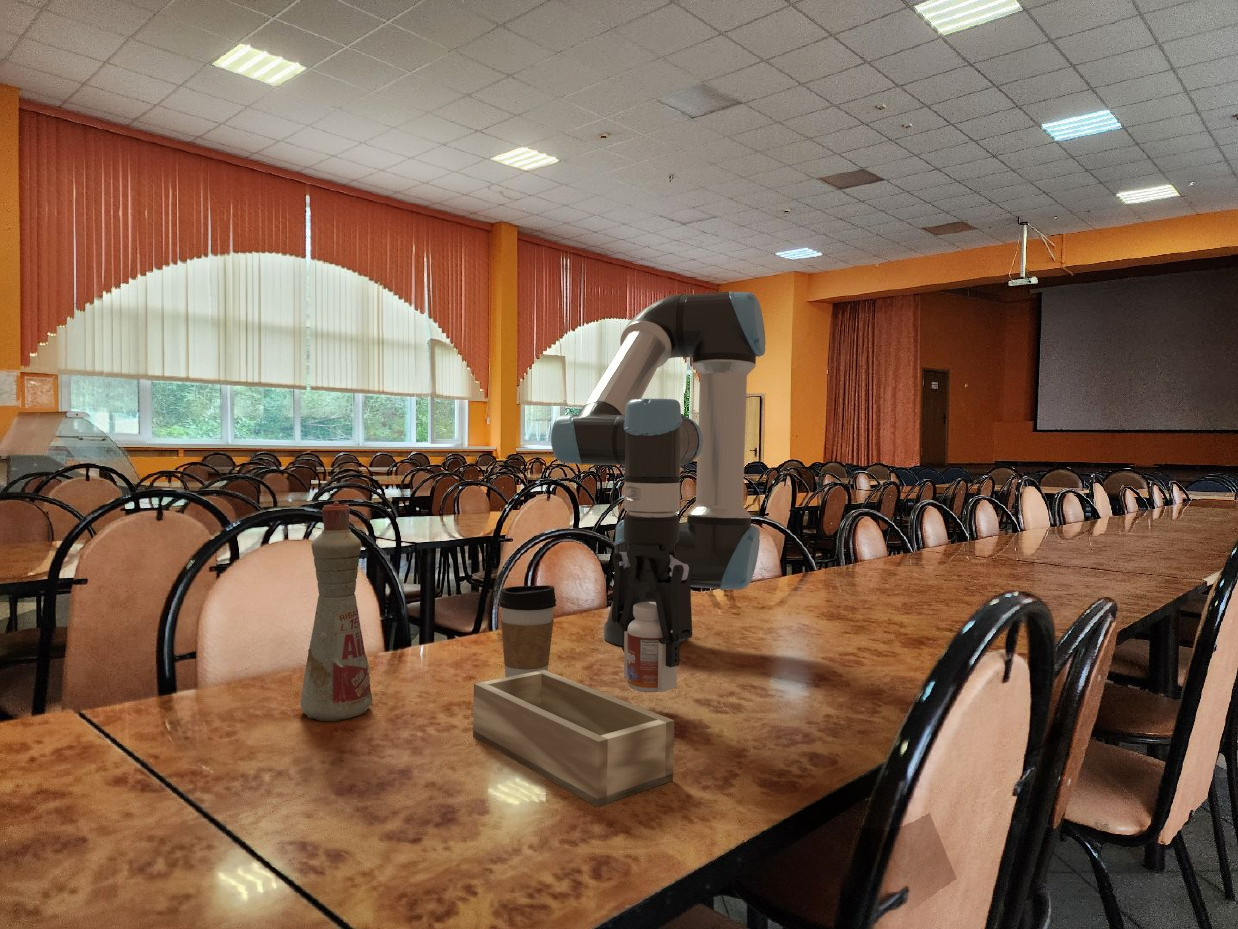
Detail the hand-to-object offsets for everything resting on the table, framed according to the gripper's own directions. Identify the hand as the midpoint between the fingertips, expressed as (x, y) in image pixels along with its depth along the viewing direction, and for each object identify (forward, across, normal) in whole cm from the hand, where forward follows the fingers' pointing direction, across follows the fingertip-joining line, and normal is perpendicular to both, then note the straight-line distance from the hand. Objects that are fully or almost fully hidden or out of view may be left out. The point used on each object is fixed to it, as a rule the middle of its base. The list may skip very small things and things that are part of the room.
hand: (649, 682), depth 108 cm
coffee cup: (+4, -19, -8) cm, 21 cm away
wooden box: (+3, +6, -19) cm, 20 cm away
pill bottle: (+1, 0, 0) cm, 1 cm away
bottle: (+4, -25, -34) cm, 42 cm away
